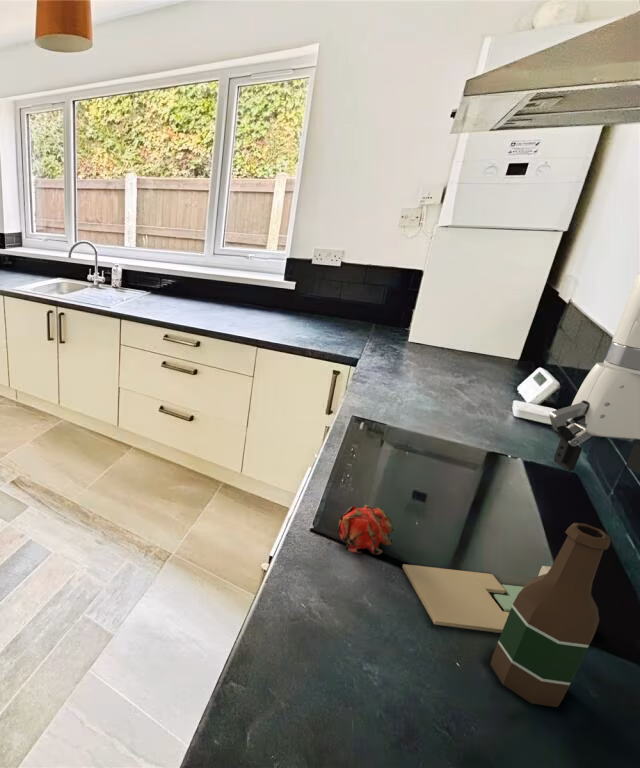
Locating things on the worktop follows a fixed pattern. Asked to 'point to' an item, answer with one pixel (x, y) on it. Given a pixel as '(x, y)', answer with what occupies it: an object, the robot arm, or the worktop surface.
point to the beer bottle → (552, 622)
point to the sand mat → (458, 597)
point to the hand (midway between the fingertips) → (599, 469)
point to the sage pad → (514, 592)
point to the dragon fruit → (365, 529)
